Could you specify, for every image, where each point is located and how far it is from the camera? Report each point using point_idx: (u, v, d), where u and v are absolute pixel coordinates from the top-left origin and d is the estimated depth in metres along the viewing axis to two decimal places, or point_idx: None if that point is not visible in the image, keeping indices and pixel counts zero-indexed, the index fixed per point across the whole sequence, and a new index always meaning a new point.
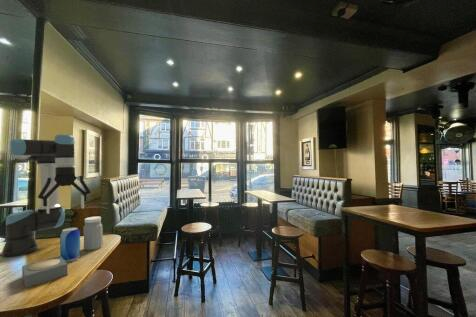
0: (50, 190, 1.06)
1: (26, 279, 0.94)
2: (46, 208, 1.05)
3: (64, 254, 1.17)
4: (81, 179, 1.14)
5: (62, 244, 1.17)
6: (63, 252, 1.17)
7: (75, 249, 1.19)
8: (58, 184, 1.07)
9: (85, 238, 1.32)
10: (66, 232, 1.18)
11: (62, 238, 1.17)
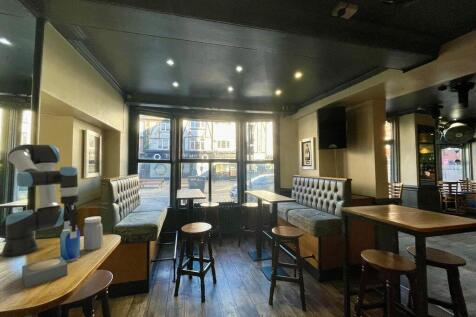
0: None
1: (26, 279, 0.94)
2: None
3: (64, 254, 1.17)
4: (69, 209, 1.16)
5: (62, 244, 1.17)
6: (63, 252, 1.17)
7: (75, 249, 1.19)
8: (64, 210, 1.22)
9: (85, 238, 1.32)
10: (66, 232, 1.18)
11: (62, 238, 1.17)
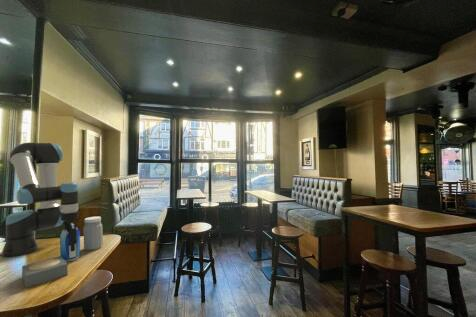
0: None
1: (26, 279, 0.94)
2: None
3: (64, 254, 1.17)
4: (69, 228, 1.16)
5: (62, 244, 1.17)
6: (62, 252, 1.17)
7: None
8: (65, 228, 1.21)
9: (85, 238, 1.32)
10: (66, 232, 1.18)
11: (62, 238, 1.17)
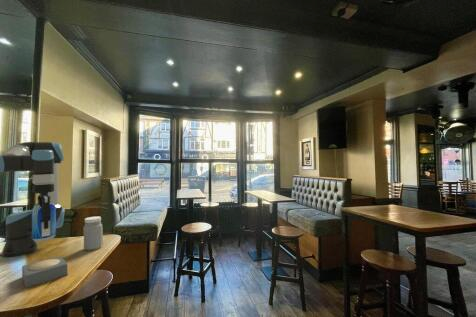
0: None
1: (26, 279, 0.94)
2: None
3: (35, 232, 0.99)
4: (42, 202, 0.99)
5: (33, 220, 1.00)
6: (34, 230, 1.00)
7: None
8: (38, 202, 1.04)
9: (85, 238, 1.32)
10: (38, 206, 1.00)
11: (34, 213, 1.00)
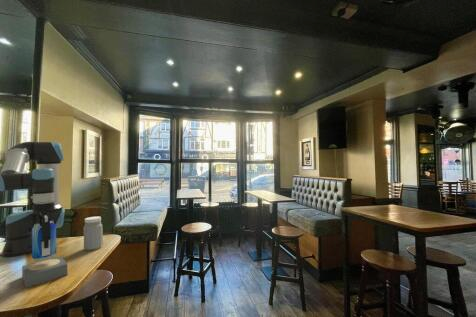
0: None
1: (26, 279, 0.94)
2: None
3: (36, 251, 0.99)
4: (42, 221, 0.99)
5: (34, 240, 0.99)
6: (34, 250, 0.99)
7: None
8: (38, 221, 1.04)
9: (85, 238, 1.32)
10: (39, 226, 1.00)
11: (34, 233, 1.00)
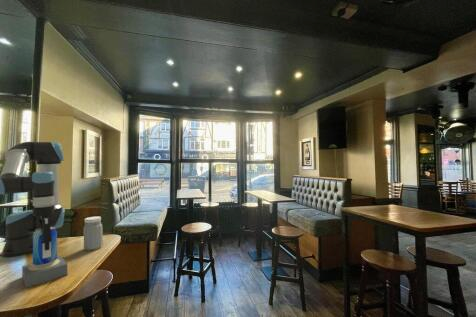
0: None
1: (26, 279, 0.94)
2: None
3: (36, 257, 0.99)
4: (42, 223, 0.98)
5: (34, 246, 1.00)
6: (35, 256, 0.99)
7: None
8: (38, 224, 1.04)
9: (85, 238, 1.32)
10: (39, 232, 1.00)
11: (34, 239, 1.00)
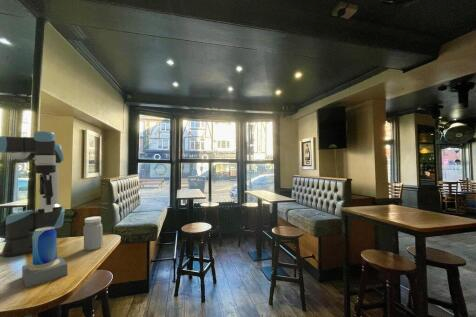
0: None
1: (26, 279, 0.94)
2: None
3: (36, 258, 0.99)
4: (44, 179, 1.02)
5: (34, 246, 1.00)
6: (34, 256, 0.99)
7: (49, 252, 1.02)
8: (40, 182, 1.08)
9: (85, 238, 1.32)
10: (39, 232, 1.00)
11: (34, 239, 1.00)
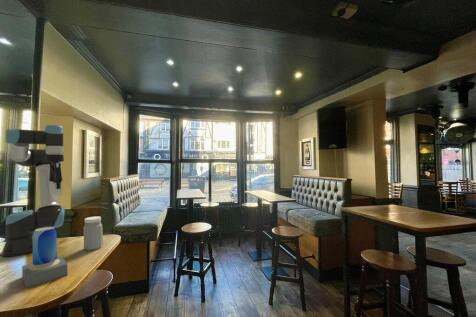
0: None
1: (26, 279, 0.94)
2: (55, 189, 1.26)
3: (36, 258, 0.99)
4: (54, 166, 1.16)
5: (34, 246, 1.00)
6: (34, 256, 1.00)
7: (49, 252, 1.02)
8: (50, 169, 1.22)
9: (85, 238, 1.32)
10: (39, 232, 1.00)
11: (34, 239, 1.00)
